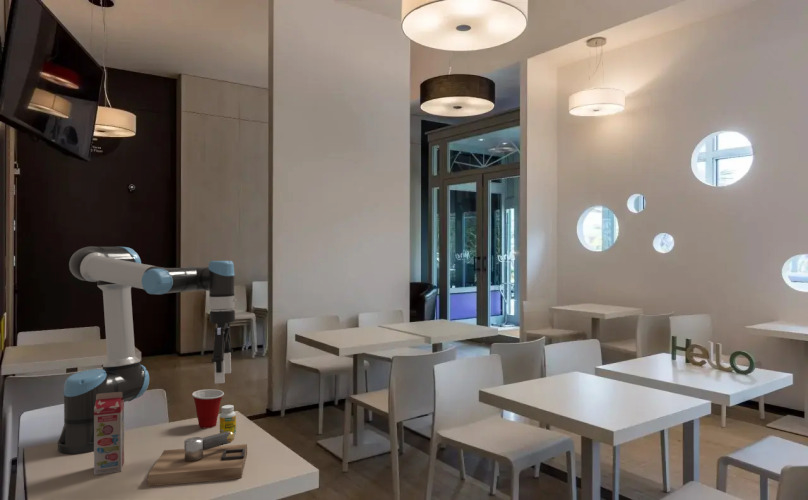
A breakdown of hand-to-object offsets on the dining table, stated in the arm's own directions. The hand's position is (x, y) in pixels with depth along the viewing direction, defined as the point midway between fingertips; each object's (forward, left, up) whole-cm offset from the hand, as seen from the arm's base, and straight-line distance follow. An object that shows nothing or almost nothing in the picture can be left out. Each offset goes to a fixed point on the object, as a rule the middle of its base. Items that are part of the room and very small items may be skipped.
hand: (223, 378), depth 166 cm
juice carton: (+6, -31, -23) cm, 39 cm away
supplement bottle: (-17, -1, -23) cm, 29 cm away
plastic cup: (-28, -9, -23) cm, 37 cm away
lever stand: (+12, -5, -23) cm, 26 cm away
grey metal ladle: (+9, -3, -20) cm, 22 cm away
